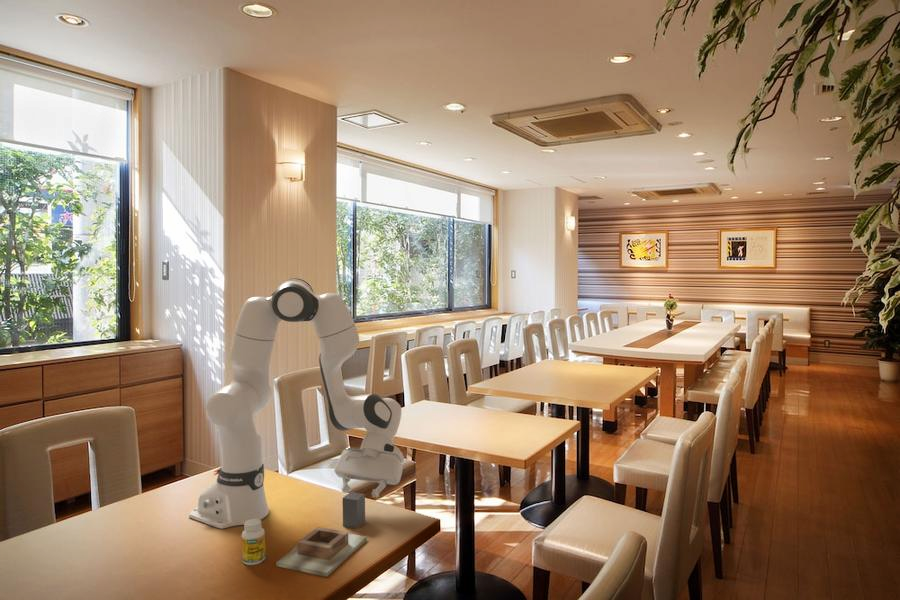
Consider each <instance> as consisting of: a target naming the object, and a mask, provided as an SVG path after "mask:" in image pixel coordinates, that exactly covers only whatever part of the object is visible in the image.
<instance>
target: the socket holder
mask: <svg viewBox="0 0 900 600" xmlns="http://www.w3.org/2000/svg"><path fill="white" fill-rule="evenodd" d="M366 542H367V536H364V535H359V534H353V533H349V532H348V531H343V530H338V529H334V528H333V529H332V528H325V527H321V526H317V527H316V528H314V530H313V529H312V531H310V532H309V533H308V534H306V535H305V536H304V537H302V538H301V539H300V540H298V541H297V542H296V543H297V545H296V546H295V547H294V548H293V549H292V550H290V551H289V552H288V553H287V554H285V555H284V556H282V557H281V558H279V560H277V561H276V562H275V563H276V567H278V568H279V567H280V568H284V569H288V570H293V571H297V572H301V573H307V574H312V575H314V576H315V575H316V576H320V577H326V578H327V577H329V576H330V575H331V574H332V573H333V572H334V571H336V569H337V568H339V567H340V566H341V563H342V562H343V561H344V560H345V561H346V560H347V559H348V558H349V557H350V556H352V555H353V554H354V553H355V552H356V551H357V550H358V549H359V548H361V546H362V545H364V544H365V543H366ZM353 552H354V553H353ZM345 561H344V562H345ZM344 562H343V563H344ZM343 563H342V564H343Z"/></svg>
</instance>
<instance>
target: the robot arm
mask: <svg viewBox="0 0 900 600" xmlns="http://www.w3.org/2000/svg"><path fill="white" fill-rule="evenodd" d="M281 321H284V322H290V323H300V322H311V323H312V325H313V327H314V330H315V332H316V335H317V337H318V340H319V343H320V353H319V357H318V362H319V363H318V364H319V369H320V374H321V378H322V383H323V387H324V391H325V394H326V395H325V396H326V399H327V403H328V415H329V420H330V423H331V424H332V425H333V427H334V428H335V429H336V430H338V431H341V432H346V431H349V430H350V431H351V430H354V429H355V430H356V429H365V430H366V433H365V435H364V437H363V440H362V442H361V445H360V447H353V446H348V447H346V448H345V449H343V450H342V451H341V454H340V457H339V459H337V462H336V464H335V466H334V468H333V469H334V473H335V474H336V476H337V477H338V478H341V479H342V484H343V486H342V489H341V492H342V493H344V494H349V493H350V490H351V487H350V485H349V484H348V483H350V481H351V480H356V481H363V482H371V483H378V486H377V487H376V488H373V489H372V492H371V496H372V497H373V498H379V495H380V493H381V492H382V491H383V490H384V489H386V486H387V485H392V486H393V485H394V486H396V485H398V484H399V483H400V481H401V478H402V474H403V469H404V465H403V462H404V460H405V457H404V454H403V452H402V451H401V450H400V448H399V447H398V446H396V445H394V439H395V438H394V437H395V436H396V435H397V433H398V430H399V427H400V423H401V420H402V406H401V404H400V403H399V402H397V400H395V399H394V398H391V397H381V396H380V395H378V394H375V393H370V394H369V393H368V394H360V395H353V396H350V395H348V393H347V392H346V388H345V383H344V379H343V375H342V366H343V364H344V362H346V361H347V360H348V359H350V358H351V357H352V356H353V355H354V354H355V353H356V351H357V349H358V347H359V344H360V335H359V332H358V329H357V326H356V323H355V320H354V318H353V317H352V314H351V312H350V310H349V308H348V305H346V303H345V301H344V299H343V297H342V296H341V295H339V294H338V293H333V292H327V293H322V294H315V292H314V289H313V288H312V286H311V285H310V284H309V282H307V281H306V280H304V279H300V278H290V279H287V280H285V281H283V282H282V283H281V284H279V285H278V286H277V288H276V289H275V290H274V292H273V293H271V295H270V296H269V297H266V296H253V297H250V298H248V299H246V300H245V301H244V303H243V305H242V307H241V310H240V312H239V315H238V318H237V321H236V325H235V328H234V333H233V338H232V343H231V347H230V351H229V354H228V357H229V358H228V359H229V362H230V364H231V367H232V379H231V381H230V383H229V384H228V385H225V386H223V387H220V388H219V389H217V390H216V391H215V392H214V393H213V394H212V395H211V396H210V397H209V398H208V400H207V401H206V405H205V413H206V416H207V419H208V420H209V422H210V423H212V424H213V425H214V426H215V429H216V430H217V435H218V438H219V443H220V454H221V455H220V456H221V458H220V460H221V467H219V469H216V470H214V471H213V473H214V474H213V476H216V475H217V478H216V480H215V481H213V483H212V484H210V485H209V486H208V487H206V488H205V489H204V490H203V491H202V492H201V493H200V495H199V496H198V502H197V506H195V507H194V508H193V509H192V510H191V511H190V512H189V514H188V517H189V518H191V519H193V520H194V521H195V520H196V521H198V522H202V523H203V524H206V525H209V526H212V527H215V528H218V529H226V528H231V527H236V526H242V525H243V526H244V523H245V522H246V521H247V520H250V519H260V520H261V521H262V520H263V519H264V518H266V517H267V516H268V515H269V514H270V508H269V504H268V501H267V498H266V497H267V496H266V493H265V492H266V491H265V485H264V482H265V481H264V480H265V465H264V463H263V445H262V444H263V441H262V440H263V439H262V437H261V435H260V434H259V433H258V432H257V430H256V429H257V428H256V426H255V415H256V414H258V413H259V412H262V411H263V409H264V408H265V407H266V406H267V405H268V403H269V402H270V400H271V398H272V388H271V385H270V363H271V357H272V353H273V349H274V344H275V341H276V334H277V329H278V326H279V324H280V322H281Z"/></svg>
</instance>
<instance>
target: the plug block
mask: <svg viewBox="0 0 900 600" xmlns="http://www.w3.org/2000/svg"><path fill="white" fill-rule="evenodd" d="M364 522H365V523H366V495H365V493H360V492H353V491H349V493H346V495H344V496H343V497H342V527H345V526H346V527H345V528H350V527H352V528H351V529H356V528H358V527H359V528H360V527H361V526H363V524H365V523H364ZM359 528H358V529H359Z"/></svg>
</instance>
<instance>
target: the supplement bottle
mask: <svg viewBox="0 0 900 600" xmlns="http://www.w3.org/2000/svg"><path fill="white" fill-rule="evenodd" d="M262 524H263V523H262V519H261V520H260V519H250V520H247V521H246V522H245V523H244V525H243V528H244V530H242V533H241V548H242V549H241V553H242V555H241V556H242V563H243V564H244V565H247V566H255V565H259V564H260V563H262V562H263V561H265V559H266V535H265V532H266V531H265V529H264V528H263V527H262Z"/></svg>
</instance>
